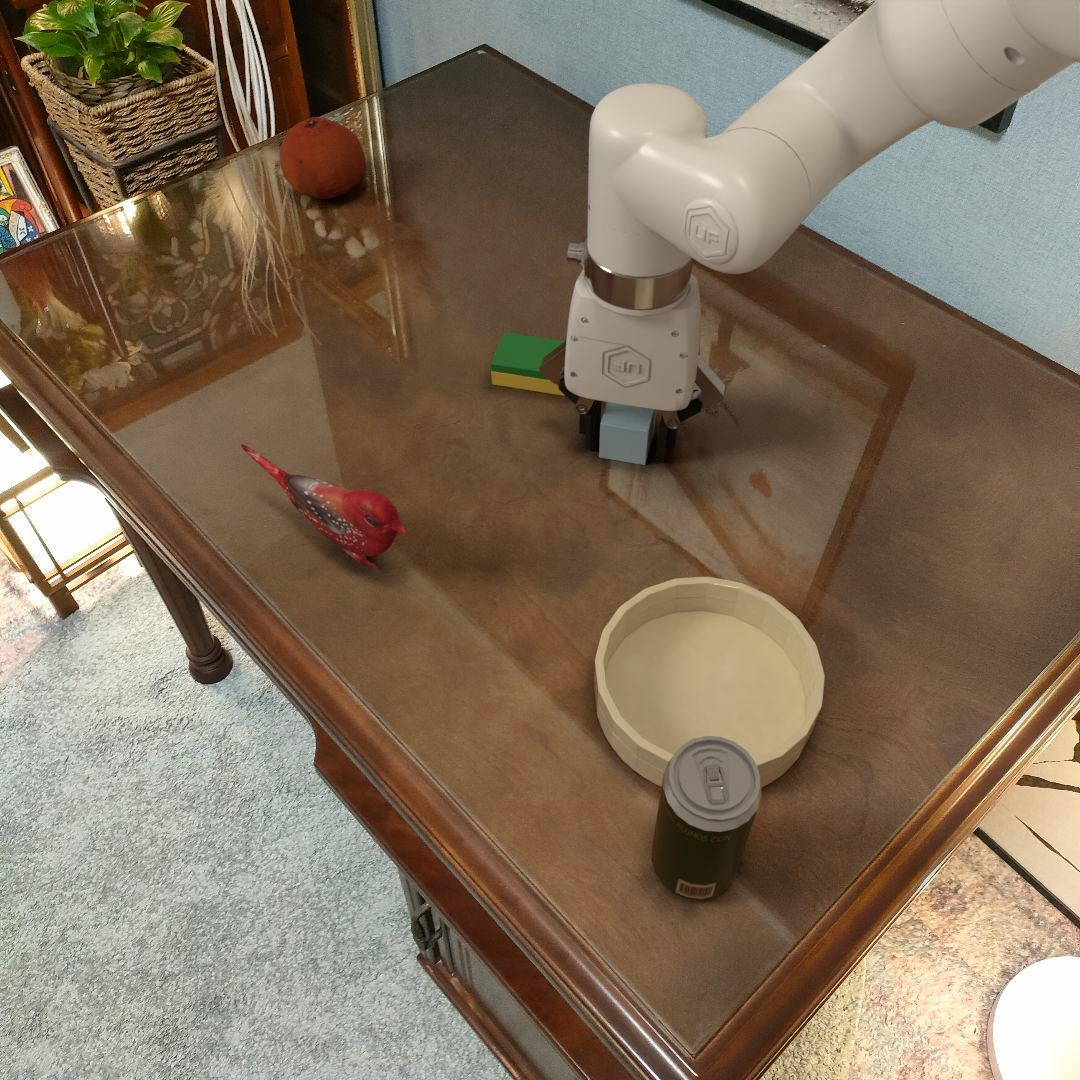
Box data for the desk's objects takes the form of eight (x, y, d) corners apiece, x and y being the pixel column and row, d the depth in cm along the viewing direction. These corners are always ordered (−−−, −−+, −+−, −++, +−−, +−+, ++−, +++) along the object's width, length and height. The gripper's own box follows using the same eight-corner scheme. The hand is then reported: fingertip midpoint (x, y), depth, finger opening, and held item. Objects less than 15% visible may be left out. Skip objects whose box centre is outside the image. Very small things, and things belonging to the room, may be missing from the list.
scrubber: (578, 363, 94) (578, 342, 92) (566, 396, 91) (566, 375, 90) (505, 352, 95) (504, 331, 93) (492, 384, 93) (490, 363, 91)
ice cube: (654, 432, 88) (657, 398, 85) (645, 465, 86) (648, 431, 83) (608, 425, 89) (610, 391, 86) (598, 457, 87) (600, 423, 84)
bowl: (821, 631, 75) (832, 599, 72) (802, 821, 66) (813, 794, 63) (618, 592, 78) (620, 559, 75) (573, 769, 68) (573, 741, 65)
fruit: (271, 198, 112) (253, 130, 106) (324, 161, 117) (310, 93, 111) (332, 223, 109) (318, 154, 103) (384, 183, 114) (373, 115, 108)
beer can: (743, 902, 63) (773, 820, 53) (656, 907, 63) (671, 827, 53) (728, 819, 66) (754, 729, 57) (645, 824, 66) (658, 735, 57)
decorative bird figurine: (407, 610, 77) (388, 526, 69) (246, 506, 84) (213, 419, 76) (431, 585, 78) (416, 500, 71) (271, 485, 85) (242, 397, 78)
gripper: (510, 282, 73) (519, 458, 87) (752, 317, 70) (721, 493, 84) (536, 222, 77) (541, 399, 91) (765, 252, 74) (733, 430, 88)
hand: (627, 442), depth 87 cm, fingers open, 5 cm apart
